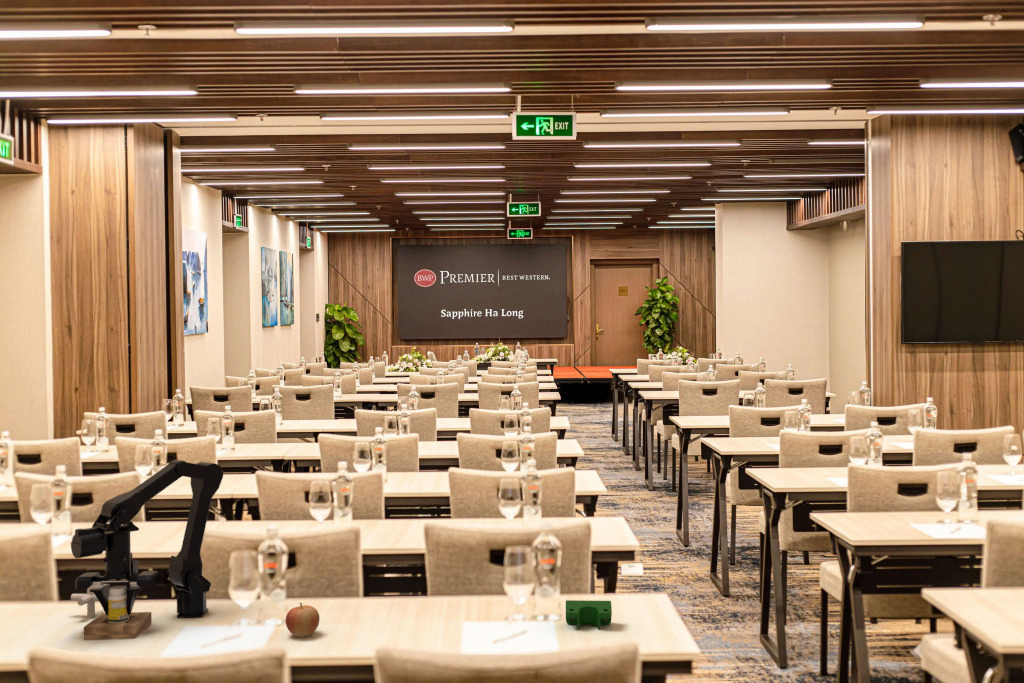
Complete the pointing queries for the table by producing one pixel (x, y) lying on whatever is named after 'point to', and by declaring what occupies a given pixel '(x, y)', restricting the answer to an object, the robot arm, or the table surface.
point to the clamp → (588, 613)
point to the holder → (117, 627)
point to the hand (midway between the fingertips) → (118, 614)
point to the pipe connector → (86, 601)
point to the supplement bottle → (117, 604)
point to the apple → (302, 620)
